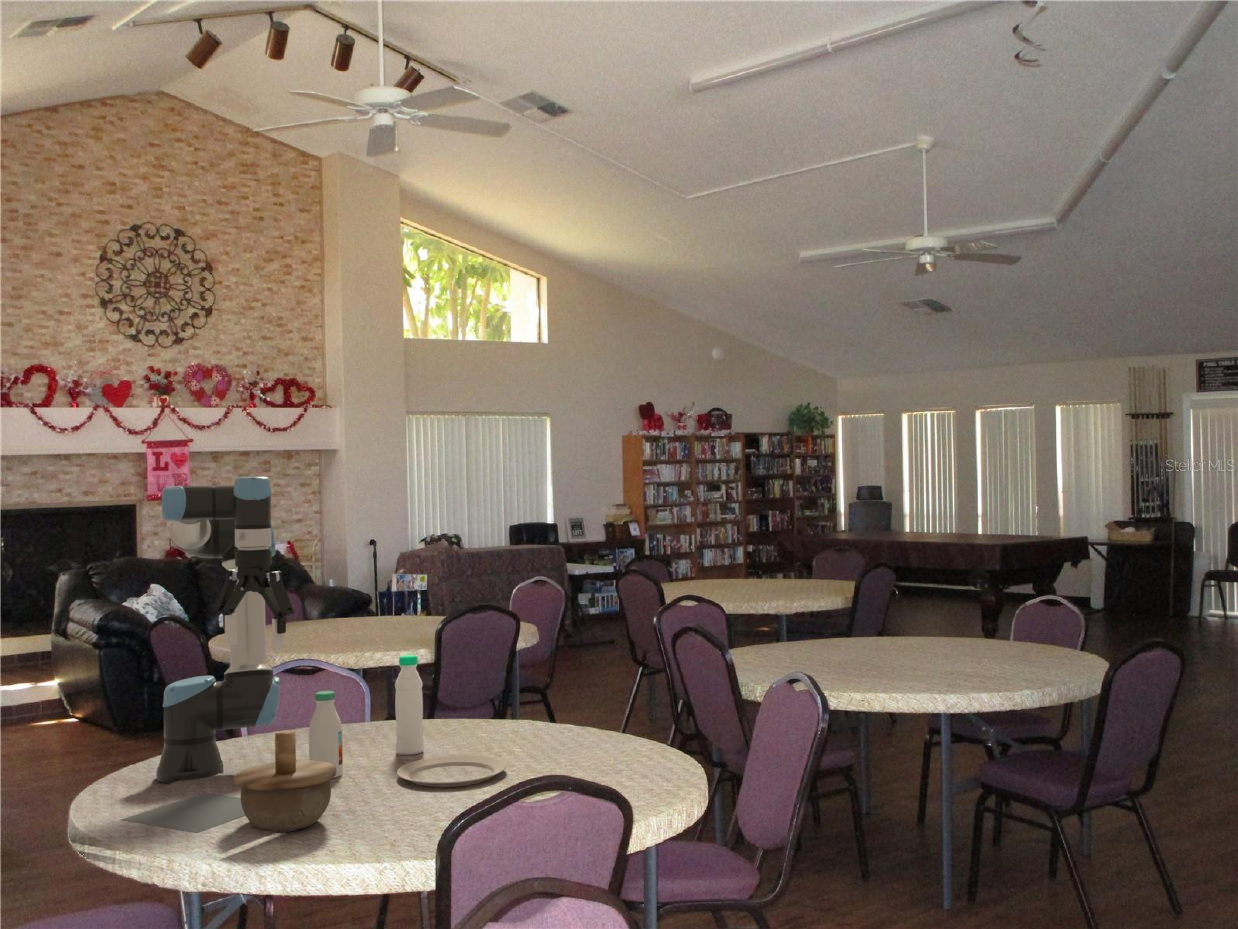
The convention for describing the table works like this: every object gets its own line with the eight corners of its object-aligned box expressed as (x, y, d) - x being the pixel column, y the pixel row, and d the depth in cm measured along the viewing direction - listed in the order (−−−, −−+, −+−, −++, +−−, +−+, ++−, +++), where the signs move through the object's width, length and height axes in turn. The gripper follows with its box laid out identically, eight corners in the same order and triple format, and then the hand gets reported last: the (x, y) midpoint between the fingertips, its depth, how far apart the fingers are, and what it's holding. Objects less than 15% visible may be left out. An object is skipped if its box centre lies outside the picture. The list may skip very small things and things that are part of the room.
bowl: (318, 838, 216) (317, 787, 217) (227, 840, 216) (227, 789, 217) (340, 813, 234) (340, 765, 234) (256, 814, 234) (256, 767, 234)
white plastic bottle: (410, 757, 282) (409, 658, 282) (390, 754, 285) (388, 657, 286) (429, 751, 288) (427, 654, 288) (409, 748, 291) (407, 653, 292)
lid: (211, 784, 221) (211, 739, 221) (283, 761, 239) (282, 719, 239) (288, 794, 212) (287, 747, 212) (356, 770, 230) (356, 726, 230)
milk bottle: (333, 780, 260) (332, 695, 260) (303, 779, 261) (302, 695, 262) (348, 772, 267) (347, 689, 268) (318, 771, 269) (317, 689, 269)
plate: (375, 779, 262) (375, 770, 262) (460, 758, 280) (460, 750, 280) (442, 797, 244) (442, 788, 244) (527, 774, 263) (527, 765, 263)
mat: (120, 824, 228) (120, 819, 228) (204, 797, 248) (204, 792, 248) (197, 837, 218) (197, 832, 218) (278, 808, 238) (278, 803, 238)
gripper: (197, 548, 240) (198, 645, 240) (284, 551, 229) (286, 653, 229) (223, 545, 247) (224, 640, 247) (310, 548, 236) (311, 647, 236)
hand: (254, 646), depth 238 cm, fingers open, 13 cm apart
